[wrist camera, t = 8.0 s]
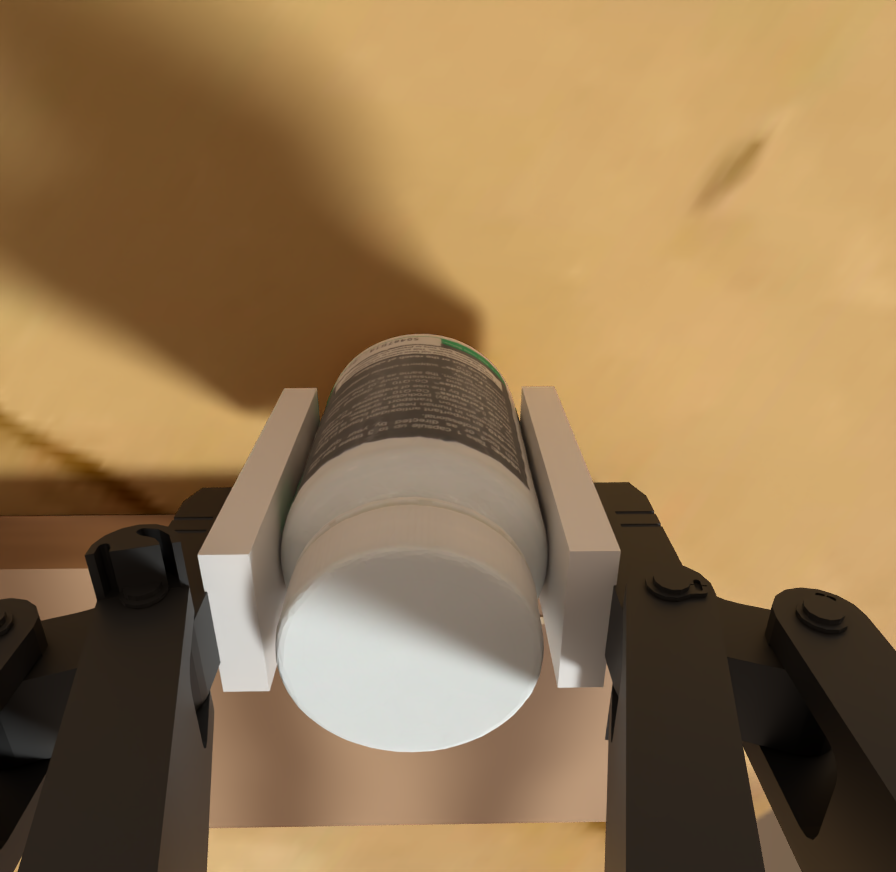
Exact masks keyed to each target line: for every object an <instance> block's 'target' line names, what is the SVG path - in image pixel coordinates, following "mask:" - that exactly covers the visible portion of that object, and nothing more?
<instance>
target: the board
mask: <svg viewBox="0 0 896 872" xmlns="http://www.w3.org/2000/svg"><path fill="white" fill-rule="evenodd" d="M174 516H175V515H87V516H0V599H7V598H16V599H24V600H28V601H29V602H31V603H32V604H34V605H35V606H36V607H37V610H38V613H39V616H40V619H41V620H46V619H51V618H55V617H60V616H65V615H69V614H74V613H78V612H82V611H86V610H89V609H93V608H95V605H96V602H97V599H96V595H95V592H94V588H93V584H92V581H91V577H90V574H89V570H88V566H87V563H86V559H85V553H86V552H87V551H88V549H89V548H90V546H91V545H92V544H93V543H95V542H96V541H98V540H99V539H100V538H102V537H103V536H105V535H107V534H109V533H112V532H114V531H116V530H119V529H121V528H125V527H130V526H134V525H139V524H159V525H163V526H169V524H170V523H171V521H172V520H174ZM538 607H539V613H540V619H541V625H542V631H543V640H544V654H543V663H542V667H541V672H540V676H539V678H538V680H537V683H536V685H535V687H534V689H533V691H532V693H531V695H530V696H529V698H528V699H527V700H526V701H525V702H524V704H523V705H522V706H521V707H520V709H519V710H518V711H517V712H516V713H515V714H514V715H513V716H512V717H511V718H509V719H508V720H507V721H506V722H504V723H503V724H502V725H500V726H499V727H497V728H496V729H494V730H492V731H491V732H489V733H487V734H486V735H484V736H482V737H480V738H477V739H475V740H472V741H470V742H467V743H464V744H461V745H458V746H454V747H450V748H447V749H441V750H435V751H425V752H395V751H387V750H381V749H375V748H370V747H367V746H363V745H360V744H357V743H353V742H350V741H348V740H345V739H343V738H341V737H339V736H337V735H335V734H333V733H331V732H329V731H327V730H326V729H324V728H323V727H321V726H320V725H318V724H317V723H316V722H314V721H313V720H312V719H311V718H309V717H308V716H307V715H306V714H305V713H304V712H303V711H302V710H301V709H300V708H299V707H298V706H297V705H296V703H295V702H294V701H293V699H292V698H291V696H290V695H289V693H288V692H287V690H286V688H285V686H284V684H283V682H282V679H281V677H280V673H279V670H278V666H277V667H276V670H275V674H274V677H273V681H272V684H271V688H270V691H243V692H223V687H222V681H221V676H220V671H219V668H218V671H217V673H216V676H215V678H214V681H213V684H212V686H211V689H210V691H211V696H212V701H213V706H214V731H213V752H212V772H211V793H210V814H209V828H247V827H308V826H368V825H428V824H489V823H549V822H606V807H607V772H608V740H605V735H606V727H607V720H608V713H609V705H610V698H611V690H612V683H613V682H612V679H611V676H610V672H609V669H608V666H607V662H606V670H605V678H604V685H603V687H573V688H558V687H557V682H556V677H555V672H554V667H553V662H552V657H551V653H550V648H549V643H548V638H547V633H546V628H545V623H544V618H543V613H542V608H541V603H540V599H539V598H538Z"/></svg>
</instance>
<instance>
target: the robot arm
mask: <svg viewBox="0 0 896 872" xmlns="http://www.w3.org/2000/svg"><path fill="white" fill-rule="evenodd" d="M319 424H320V416H319V405H318V394H317V388H284V390H283V391H282V393H281V395H280V397H279V399H278V401H277V403H276V405H275V407H274V409H273V411H272V413H271V415H270V416H269V418H268V420H267V422H266V424H265V426H264V428H263V430H262V432H261V434H260V436H259V438H258V440H257V441H256V443H255V445H254V447H253V449H252V451H251V453H250V455H249V457H248V459H247V461H246V463H245V465H244V466H243V468H242V470H241V472H240V474H239V476H238V478H237V480H236V482H235V484H234V486H233V487H229V488H202V489H200V490H199V491H198V492H196V493H195V494H193V495H192V496H191V497H189V498H188V499H186V500H185V501H184V502H183V503H182V505H181V507H180V508H179V510H178V511H177V513H176V515H175V516H174V520H172V521H171V523H170V524H169V526H163V525H159V524H139V525H134V526H130V527H125V528H121V529H119V530H116V531H114V532H112V533H109V534H107V535H105V536H103V537H102V538H100V539H99V540H98V541H96V542H95V543H93V544H92V545H91V546H90V548H89V549H88V551H87V552H86V553H85V559H86V563H87V566H88V570H89V574H90V577H91V581H92V584H93V588H94V592H95V595H96V599H97V602H96V605H95V608H93V609H89V610H86V611H82V612H78V613H74V614H69V615H65V616H60V617H55V618H51V619H46V620H41V619H40V616H39V613H38V610H37V607H36V606H35V605H34V604H32V603H31V602H29V601H28V600H24V599H16V598H7V599H0V872H13V871H14V870H15V868H16V866H17V864H18V862H19V860H20V859H21V857H22V859H21V862H20V865H19V869H18V872H207V855H208V834H209V814H210V793H211V772H212V752H213V731H214V706H213V701H212V696H211V691H210V689H211V686H212V684H213V681H214V678H215V676H216V673H217V671H218V668H219V671H220V676H221V681H222V687H223V692H243V691H270V688H271V684H272V681H273V677H274V674H275V670H276V667H277V662H276V652H275V641H276V629H277V625H278V621H279V618H280V614H281V611H282V607H283V603H284V599H285V596H286V592H287V588H286V585H285V581H284V577H283V572H282V567H281V543H282V535H283V530H284V526H285V522H286V519H287V515H288V512H289V509H290V507H291V504H292V501H293V498H294V496H295V493H296V490H297V487H298V485H299V482H300V479H301V476H302V473H303V470H304V467H305V465H306V462H307V459H308V456H309V452H310V450H311V447H312V444H313V441H314V438H315V434H316V432H317V430H318V427H319ZM520 425H521V429H522V437H523V439H524V444H525V447H526V451H527V456H528V460H529V465H530V469H531V472H532V476H533V481H534V484H535V487H536V491H537V495H538V498H539V504H540V508H541V511H542V514H543V519H544V525H545V529H546V535H547V543H548V562H547V571H546V576H545V581H544V585H543V588H542V591H541V593H540V596H539V599H540V603H541V608H542V613H543V618H544V623H545V628H546V633H547V638H548V643H549V648H550V653H551V657H552V662H553V667H554V672H555V677H556V682H557V687H558V688H573V687H603V685H604V678H605V670H606V662H607V666H608V669H609V672H610V676H611V679H612V682H613V683H612V690H611V698H610V705H609V713H608V720H607V727H606V735H605V740H608V772H607V807H606V841H605V872H765V868H764V863H763V857H762V852H761V846H760V841H759V835H758V829H757V823H756V818H755V812H754V807H753V801H752V795H751V790H750V784H749V778H748V773H747V767H746V762H745V756H744V750H745V752H746V754H747V756H748V758H749V760H750V762H751V765H752V767H753V769H754V771H755V773H756V775H757V777H758V779H759V782H760V784H761V786H762V788H763V790H764V792H765V794H766V796H767V799H768V801H769V803H770V805H771V807H772V809H773V811H774V814H775V816H776V818H777V820H778V822H779V824H780V826H781V828H782V831H783V833H784V835H785V837H786V839H787V841H788V843H789V845H790V848H791V850H792V852H793V854H794V856H795V858H796V860H797V863H798V865H799V867H800V869H801V871H802V872H896V651H895V649H894V648H893V647H892V646H891V645H890V643H889V642H888V641H887V640H886V639H885V637H884V636H883V635H882V634H881V633H880V631H879V630H878V629H877V628H876V626H875V625H874V624H873V623H872V622H871V620H870V619H869V618H868V617H867V616H866V615H865V614H864V613H863V612H862V611H861V610H860V609H858V608H857V607H856V606H855V605H854V604H852V603H850V602H848V601H846V600H845V599H843V598H841V597H839V596H837V595H834V594H831V593H829V592H825V591H821V590H818V589H809V588H794V589H787V590H784V591H783V592H781V593H779V594H778V595H776V596H775V599H774V601H773V604H772V608H771V610H769V609H764V608H759V607H754V606H749V605H744V604H739V603H735V602H731V601H727V600H724V599H722V598H719V597H717V596H716V593H715V591H714V589H713V587H712V585H711V583H710V582H709V581H708V580H707V579H705V578H704V577H703V576H702V575H701V574H700V573H698V572H696V571H694V570H692V569H689V568H687V567H685V566H683V565H682V564H681V562H680V560H679V558H678V556H677V554H676V552H675V550H674V548H673V546H672V544H671V543H670V541H669V539H668V537H667V535H666V533H665V531H664V529H663V527H661V523H660V521H659V520H658V518H657V516H656V514H654V510H653V508H652V506H651V504H650V502H649V500H648V499H647V497H646V495H644V494H643V493H642V492H641V491H639V490H638V489H637V488H635V487H634V486H633V485H631V484H630V483H629V482H614V483H593V481H592V478H591V476H590V473H589V471H588V468H587V466H586V463H585V461H584V459H583V456H582V454H581V451H580V449H579V446H578V444H577V441H576V439H575V436H574V434H573V431H572V429H571V426H570V424H569V421H568V419H567V416H566V414H565V412H564V409H563V407H562V404H561V402H560V399H559V397H558V394H557V392H556V389H555V387H554V386H540V387H522V395H521V416H520ZM743 747H744V750H743Z"/></svg>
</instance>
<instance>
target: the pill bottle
mask: <svg viewBox="0 0 896 872" xmlns="http://www.w3.org/2000/svg"><path fill="white" fill-rule="evenodd" d="M547 562H548V543H547V535H546V529H545V525H544V519H543V514H542V511H541V508H540V504H539V498H538V495H537V491H536V487H535V484H534V481H533V476H532V472H531V469H530V465H529V460H528V456H527V451H526V447H525V444H524V439H523V437H522V429H521V425H520V421H519V417H518V414H517V410H516V408H515V405H514V402H513V398H512V395H511V392H510V390H509V387H508V385H507V383H506V381H505V379H504V378H503V376H502V375H501V374H500V372H499V371H498V369H497V368H496V367H495V366H494V365H493V364H492V363H491V362H490V361H489V360H488V359H487V358H486V357H485V356H484V355H482V354H481V353H480V352H478V351H477V350H475V349H474V348H472V347H471V346H469V345H467V344H465V343H463V342H460V341H458V340H455V339H453V338H449V337H445V336H440V335H433V334H409V335H403V336H398V337H393V338H390V339H387V340H384V341H381V342H379V343H377V344H375V345H373V346H371V347H369V348H367V349H366V350H364V351H363V352H361V353H360V354H359V355H357V356H356V357H355V358H354V359H353V360H352V361H351V362H350V363H349V364H348V365H347V366H346V368H345V369H344V370H343V371H342V373H341V374H340V376H339V378H338V379H337V381H336V383H335V385H334V387H333V389H332V391H331V393H330V396H329V399H328V401H327V405H326V408H325V411H324V414H323V416H322V418H321V421H320V424H319V427H318V430H317V432H316V434H315V438H314V441H313V444H312V447H311V450H310V452H309V456H308V459H307V462H306V465H305V467H304V470H303V473H302V476H301V479H300V482H299V485H298V487H297V490H296V493H295V496H294V498H293V501H292V504H291V507H290V509H289V512H288V515H287V519H286V522H285V526H284V530H283V535H282V543H281V567H282V572H283V577H284V581H285V585H286V588H287V592H286V596H285V599H284V603H283V607H282V611H281V614H280V618H279V621H278V625H277V629H276V641H275V652H276V662H277V666H278V670H279V673H280V677H281V679H282V682H283V684H284V686H285V688H286V690H287V692H288V693H289V695H290V696H291V698H292V699H293V701H294V702H295V703H296V705H297V706H298V707H299V708H300V709H301V710H302V711H303V712H304V713H305V714H306V715H307V716H308V717H309V718H311V719H312V720H313V721H314V722H316V723H317V724H318V725H320V726H321V727H323V728H324V729H326V730H327V731H329V732H331V733H333V734H335V735H337V736H339V737H341V738H343V739H345V740H348V741H350V742H353V743H357V744H360V745H363V746H367V747H370V748H375V749H381V750H387V751H395V752H425V751H435V750H441V749H447V748H450V747H454V746H458V745H461V744H464V743H467V742H470V741H472V740H475V739H477V738H480V737H482V736H484V735H486V734H487V733H489V732H491V731H492V730H494V729H496V728H497V727H499V726H500V725H502V724H503V723H504V722H506V721H507V720H508V719H509V718H511V717H512V716H513V715H514V714H515V713H516V712H517V711H518V710H519V709H520V707H521V706H522V705H523V704H524V702H525V701H526V700H527V699H528V698H529V696H530V695H531V693H532V691H533V689H534V687H535V685H536V683H537V680H538V678H539V676H540V672H541V667H542V663H543V654H544V640H543V631H542V625H541V619H540V613H539V607H538V598H539V596H540V593H541V591H542V588H543V585H544V581H545V576H546V571H547Z"/></svg>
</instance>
